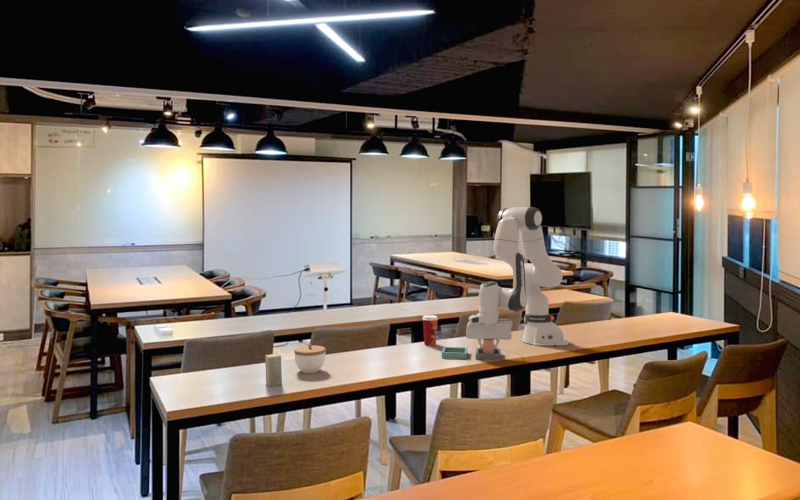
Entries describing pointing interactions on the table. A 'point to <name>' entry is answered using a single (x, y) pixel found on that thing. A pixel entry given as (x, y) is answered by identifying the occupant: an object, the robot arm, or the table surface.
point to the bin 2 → (488, 355)
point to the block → (488, 346)
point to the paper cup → (430, 329)
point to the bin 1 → (454, 352)
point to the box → (273, 370)
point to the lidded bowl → (309, 358)
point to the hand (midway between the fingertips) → (488, 348)
